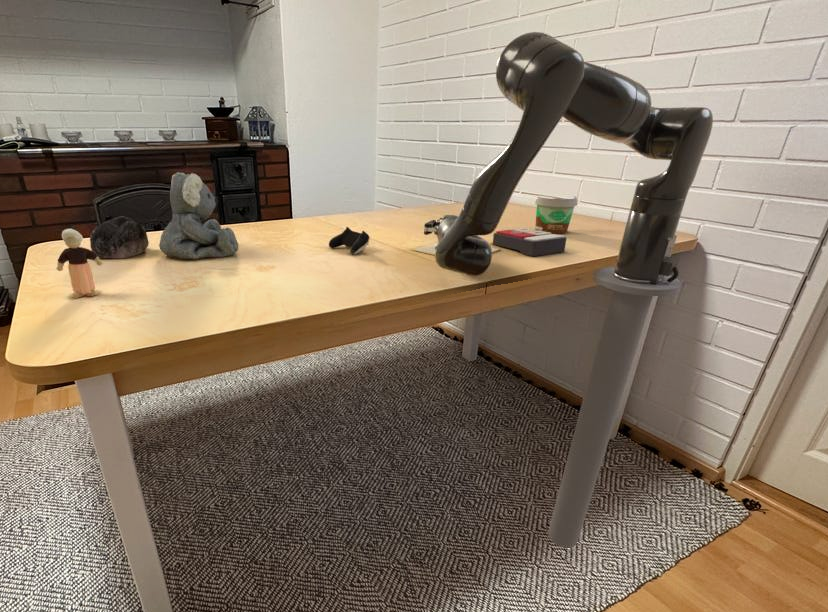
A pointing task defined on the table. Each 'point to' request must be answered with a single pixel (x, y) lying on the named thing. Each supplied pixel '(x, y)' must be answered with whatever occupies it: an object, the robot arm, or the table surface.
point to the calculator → (530, 241)
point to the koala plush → (194, 222)
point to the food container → (554, 214)
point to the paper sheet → (432, 247)
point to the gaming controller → (351, 240)
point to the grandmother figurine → (78, 264)
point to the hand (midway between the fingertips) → (448, 222)
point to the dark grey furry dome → (118, 238)
